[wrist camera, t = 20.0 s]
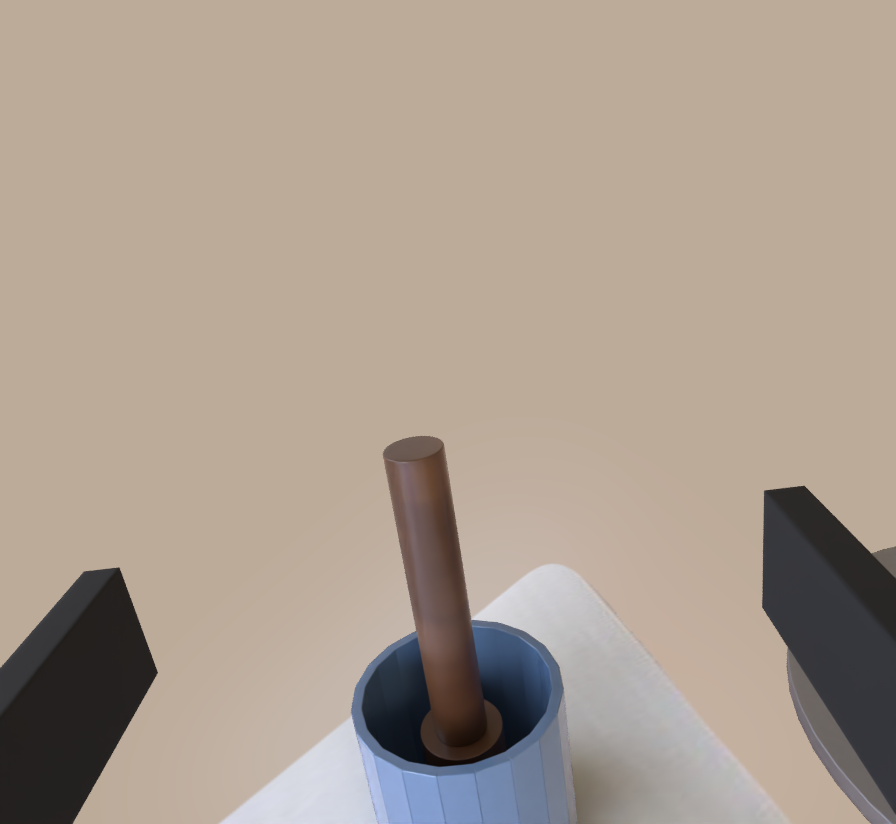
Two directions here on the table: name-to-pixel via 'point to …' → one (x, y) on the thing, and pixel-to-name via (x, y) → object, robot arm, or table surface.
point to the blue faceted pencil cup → (482, 783)
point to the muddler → (440, 606)
